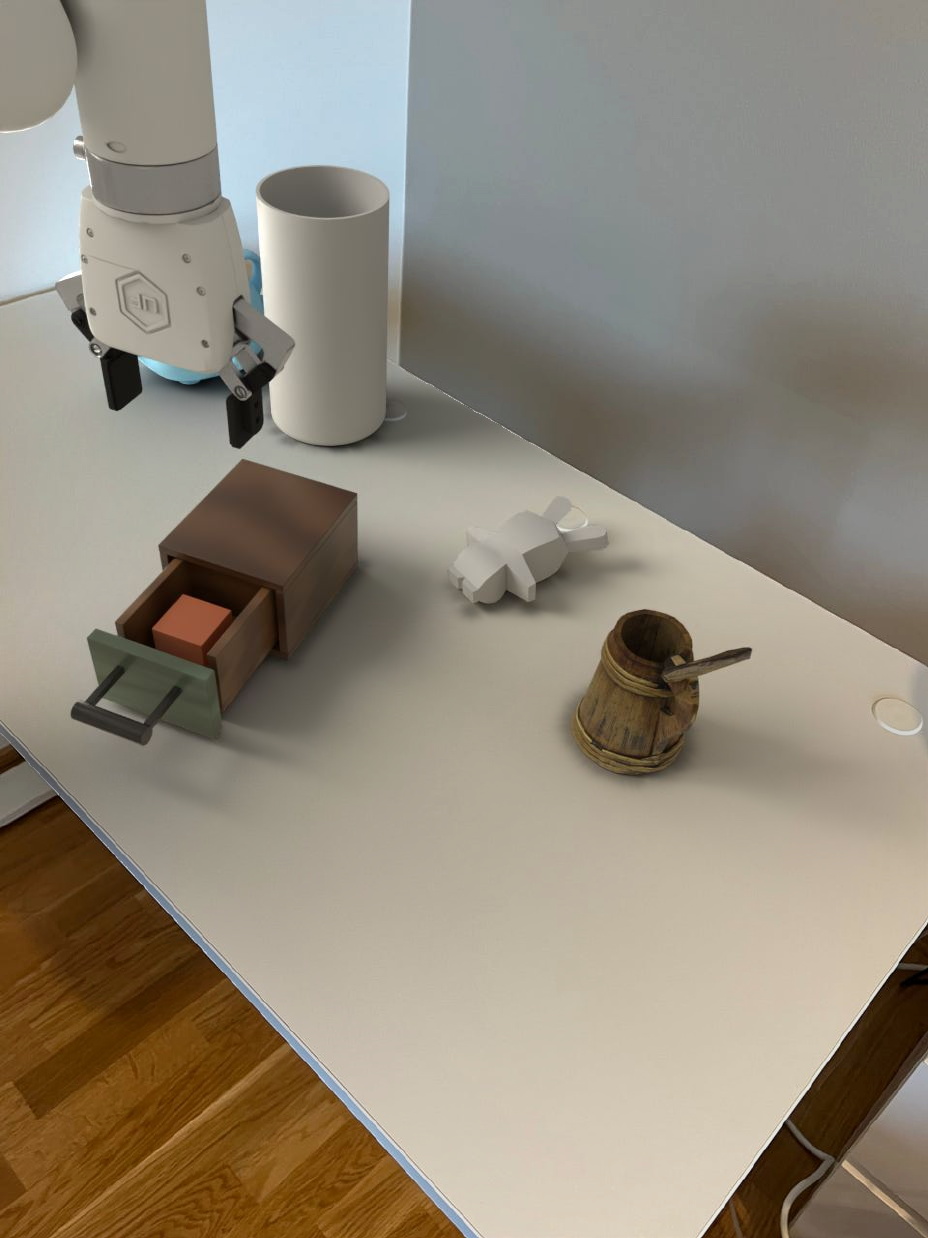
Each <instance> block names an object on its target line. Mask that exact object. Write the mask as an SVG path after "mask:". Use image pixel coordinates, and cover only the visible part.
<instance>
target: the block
mask: <svg viewBox="0 0 928 1238" xmlns="http://www.w3.org/2000/svg"><path fill="white" fill-rule="evenodd" d="M232 623H233V620H232V612H231V610H229V609H226V608H223V607H220V606H217V605H214V604H211V603H208V602H205V601H202V600H199V599H196V598H193V597H190V596H188V595H185V594H183V595H182V596H181V597H180V598H179V599H178V600H177V601H176V602H175V604H174V605H173V606H172V607H171V608H170V609H169V610H168V611H167V612H166V614H165V615H164V616H163V617H162V618H161V619H160V620H159V621H158V622H157V623H156V625H155V626H154V627H153V628H152V632H153V638H154V643H155V648H156V650H159V651H162V652H164V653H167V654H170V655H173V656H176V657H178V658H181V659H184V660H187V661H190V662H193V663H195V664H198V665H201V666H204V667H207V668H209V665H208V658H207V654H208V652H209V651H210V650H211V649H212V648H213V646H214V645H215V644H216V643H217V642H218V640H219V639H220V638H221V637H222V635H223V634H224V633H225V632H226V631H227V629H228V628H229V627H230V626H231V625H232Z"/></svg>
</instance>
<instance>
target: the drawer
mask: <svg viewBox="0 0 928 1238" xmlns="http://www.w3.org/2000/svg"><path fill="white" fill-rule="evenodd" d="M275 591H276V590H273V589H270V588H267V587H264V586H261V585H258V584H255V583H252V582H249V581H246V580H243V579H240V578H237V577H234V576H231V575H228V574H225V573H222V572H219V571H216V570H213V569H210V568H207V567H204V566H201V565H198V564H195V563H192V562H189V561H186V560H183V559H180V558H176V557H175V558H174V559H173V560H172V562H171V563H170V564H169V565H168V566H167V567H166V568H165V569H164V570H161V572H160V573H159V574H158V575H157V576H156V577H155V578H154V580H152V581H151V582H150V583H149V585H148V586H147V587H146V588H145V589H144V590H143V591H142V592H141V593H140V594H139V595H138V597H136V599H134V600H133V602H132V603H130V604H129V606H128V607H127V608H126V609H125V610H124V611H123V612H122V613H121V614H120V615H119V617H117V619H116V620H114V625H115V626H114V627H115V631H116V634H114V633H111V632H108V631H105V630H102V629H100V628H94V629H93V630H92V631H91V632H90V634H89V635H87V636H86V641H87V646H88V649H89V653H90V657H91V661H92V665H93V666H92V667H93V669H94V672H95V678H96V681H97V684H98V686H96V688H95V689H94V690H93V691H92V693H90V695H89V696H88V697H87V698H86V699H85V700H82V699H79V700H77V701H76V702H75V703H74V704H73V706H72V707H71V710H70V718H71V719H72V720H73V721H76V722H79V723H82V724H84V725H87V726H89V727H92V728H94V729H97V730H100V731H103V732H105V733H108V734H110V735H113V736H115V737H119V738H121V739H124V740H126V741H129V742H132V743H134V744H137V745H139V746H146V745H147V744H148V743H150V741H151V739H152V736H153V733H154V731H153V729H154V727H156V725H157V723H158V722H159V721H163V722H167V723H168V724H172V725H173V726H177V727H180V728H182V729H185V730H188V731H191V732H193V733H195V734H198V735H201V736H205V737H206V738H209V739H212V740H216V739H217V738H218V736H219V735H220V734H221V732H222V731H223V722H222V714H221V712H222V713H224V712H225V711H226V709H227V708H228V707H229V705H231V703H232V702H233V700H234V699H235V698H236V696H237V695H238V694H239V692H241V690H242V689H243V687H244V686H245V685H246V684H247V682H248V681H249V679H250V678H251V676H252V675H253V674H254V673H255V671H257V669H258V667H259V666H260V665H261V663H262V662H263V661H264V660H265V658H266V657H267V656H268V655H269V654H268V653H269V652H270V650H271V649H272V648H273V646H274V645H275V644H276V642H277V641H278V640H279V632H278V619H277V606H276V593H275ZM183 594H185V595H188V596H190V597H193V598H196V599H199V600H202V601H205V602H208V603H211V604H214V605H217V606H220V607H223V608H226V609H229V610H231V612H232V620H233V623H232V625H231V626H230V627H229V628H228V629H227V631H226V632H225V633H224V634H223V635H222V637H221V638H220V639H219V640H218V642H217V643H216V644H215V645H214V646H213V648H212V649H211V650H210V651H209V652H208V654H207V658H208V665H209V668H207V667H204V666H201V665H198V664H195V663H193V662H190V661H187V660H184V659H181V658H178V657H176V656H173V655H170V654H167V653H164V652H162V651H159V650H156V648H155V643H154V638H153V632H152V628H153V627H154V626H155V625H156V623H157V622H158V621H159V620H160V619H161V618H162V617H163V616H164V615H165V614H166V612H167V611H168V610H169V609H170V608H171V607H172V606H173V605H174V604H175V602H176V601H177V600H178V599H179V598H180V597H181V596H182V595H183ZM102 699H104V700H107V701H109V702H112V703H115V704H117V705H121V706H124V707H126V708H128V709H131V710H134V711H136V712H139V713H141V714H144V715H147V717H146V719H145V720H144V721H143V722H141V721H138V720H135V719H133V718H130V717H127V716H125V715H122V714H119V713H116V712H114V711H112V710H109V709H106V708H104V707H101V706H99V705H98V703H99V702H100V701H101V700H102Z"/></svg>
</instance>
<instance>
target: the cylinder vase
mask: <svg viewBox="0 0 928 1238" xmlns="http://www.w3.org/2000/svg"><path fill="white" fill-rule="evenodd" d="M390 199H391V197H390V190H389V187H388V186H387V185H386V183H385V182H383V181H382V180H381V179H379V178H378V177H377V176H374V175H373V174H370V173H368V172H365V171H363V170H359V169H355V168H352V167H351V168H350V167H346V166H339V165H329V164H307V165H298V166H292V167H286V168H283V169H280V170H276V171H274V172H271V173H269V174H267V175H265V176H264V177H263V178H262V179H260V181H258V183H257V184H256V186H255V201H256V215H257V216H256V217H257V228H258V229H257V230H258V243H259V257H260V259H261V274H262V295H263V302H264V316H265V317H267V318H268V319H269V320H270V321H272V322H273V323H274V324H276V325H277V326H278V327H279V328H281V329H282V330H283V331H284V332H286V333H287V334H288V335H289V336H291V337H292V338H293V339H294V341H295V347H294V349H293V351H292V353H291V355H290V356H289V358H288V360H287V362H286V363H285V365H284V369H283V370H282V371H281V372H280V373H279V374H278V375H277V376H275V377H274V378H273V379H272V380H271V381H270V382H269V383H268V385H269V401H270V413H271V417H272V420H273V422H274V424H275V425H276V426H277V428H278V429H279V430H280V431H281V432H283V434H285V435H286V436H288V437H289V438H292V439H294V440H297V441H298V442H302V443H305V444H308V445H309V444H310V445H314V446H315V445H316V446H324V447H325V446H326V447H330V446H332V447H334V446H343V445H350V444H353V443H357V442H359V441H362V440H365V439H366V438H368V437H370V436H371V435H372V434H375V432H377V430H378V429H379V428H380V427H381V426H382V424H383V422H384V421H385V418H386V414H387V369H388V368H387V366H388V365H387V363H388V353H387V352H388V310H389V309H388V307H389V305H388V304H389V303H388V301H389V256H390V255H389V249H390V248H389V247H390V246H389V244H390V243H389V242H390Z"/></svg>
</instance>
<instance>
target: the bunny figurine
mask: <svg viewBox="0 0 928 1238" xmlns="http://www.w3.org/2000/svg"><path fill="white" fill-rule="evenodd" d="M572 508H573V503H572V501H571V500H570V499H569V498H568V497H565V496H563V495H562V496H555V497H554V498H552V500H551V501H550V503H549V504H548V505H547V506H546V508H545V510H544V512H543V513H542V515H539V514H536V513H535V512H532V511H530V510H528V509H526V510H523V511H521V512H518V513H516V514H515V515H513V516H511V517H510V518H508V519H507V520H506V521H505V522H504V523H502V525H501V527H499V529H498V531H497V532H496V531H493V530H488V529H485V528H481V527H477V526H473V525H472V526H470V527H469V528H468V529H467V530H466V531H465V538H466V539H465V540H466V542H465V543H466V546H465V547H464V548H463V549H462V550H461V552H460V553H459V554H458V555H457V557H456V558H455V560H454V561H453V563H452V565H450V566H449V567H447V581H449V583H451V584H452V585H453V586H454V587H455V588H456V589H457V590H462V595H463V596H465V598H466V599H468V600H469V601H470V603H471V604H476V603H478V602H479V603H480V602H481V603H484V604H487V605H488V604H495V603H497V602H498V601H500V600H501V599H502V597H503V596H504V594H505V592H506V591H507V592H510V593H512V594H514V595H515V596H516V597H518V598H520V599H521V600H524V601H525V602H527V603H530V602H533V601H535V600H536V594H537V593H536V591H537V590H536V589H537V583H539V582H541V581H544V580H546V579H548V578H549V577H551V576H552V575H554V574H555V573H556V572H558V571H559V569H560V567H561V566H562V564H563V563H564V560H566V558H567V556H568V554H569V553H573V552H589V551H601V550H604V549H607V548H608V546H609V544H610V540H609V537H608V533H607V530H606V528H605V527H604V526H602V525H598V524H594V525H592V524H591V525H586V526H584V527H580V528H576V529H572V530H568V531H565V532H561V531H560V529H559V528H558V526H557V525H558V524H559V523H560V522H561V521H562V520H563V519H564V518H565V517H566V516H567V515H568V514H569V513H570V512H571V511H572Z"/></svg>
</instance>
